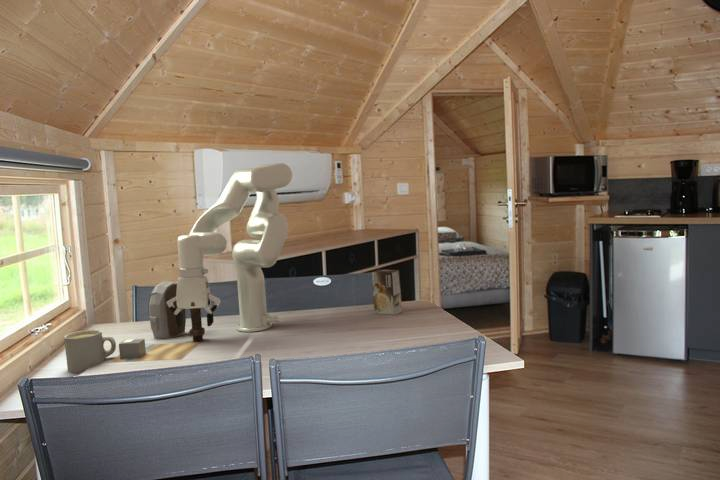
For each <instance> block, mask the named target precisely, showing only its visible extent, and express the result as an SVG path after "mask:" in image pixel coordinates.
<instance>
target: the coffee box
mask: <svg viewBox="0 0 720 480" xmlns="http://www.w3.org/2000/svg"><path fill="white" fill-rule="evenodd" d="M400 273H401V272H400V269H381V268H379V269H376V270H373V271H372V272H371V277H372V279H371V280H372V292H373V293H372V295H373V308H374V309H373V310H374V314H376V315H391V316H396V315H398V314H401V313H403V307H402V305H403V304H402V303H403V302H402V289H401V274H400Z"/></svg>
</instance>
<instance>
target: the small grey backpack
mask: <svg viewBox="0 0 720 480" xmlns="http://www.w3.org/2000/svg"><path fill="white" fill-rule="evenodd" d="M176 293H177V283H176V282H173V281H169V280H164V281H162V282H159V283H158V284H157V285H155V286H154V288H153V289H152V291H151V294H150V296H149V299H148V305H147V306H148V317H149V322H150V323H149V324H150V329H151V332H152V335H153V339H158V340H159V339H160V340H161V339H164V340H165V339H169V338H170V339H171V338H178V337H179V336H181V335H183V334H185V332H186V322H187V321H186V320H187V309H183V310H182V311H181V313H182V316H183V325H182V326H181V327H178V324H176V315H175V314H174V313H173V312H172V311H171V310H170V308H169V306H168V305H167V303H166V302H167V301H168V300H170V299H172V298H174V297H175V296H176ZM173 305H174V306H175V307H176V308H178V307H177V301H174V302H173Z"/></svg>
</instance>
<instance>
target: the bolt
mask: <svg viewBox="0 0 720 480" xmlns="http://www.w3.org/2000/svg"><path fill="white" fill-rule="evenodd" d="M191 306H195V303H194V302H191ZM201 309H202V308H200V309H189V310H190V322H191V328H190V330H189V335H190V336H191V337H192V343H194V342H203V340H204V335H205V333H206V329H205V328H204V327H203V326H202V325H203V324H202V312H201Z"/></svg>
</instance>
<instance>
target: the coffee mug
mask: <svg viewBox="0 0 720 480" xmlns="http://www.w3.org/2000/svg"><path fill="white" fill-rule="evenodd" d="M102 333H103V331H102V330H99V329H86V330H85V329H84V330H79V331H75V332H71V333H67V334H66V335H64V338H63V339H64V347H65V355H66V356H65V358H66V366H67V372H70V373H73V374H74V373H78V374H80V373H85V372H87V370H90V369H91V368H92V367H94V366H96V365H99V364H100V363H102V362H104V360H105V359H106V358H108V357H110V356H111V355H113V354H114V352H116V347H117V343H116V339H115V338H114V337H113V336H111V335H103V334H102ZM106 341H108V342H110V349H108V350H107V349H105V347H104V345H105V342H106Z"/></svg>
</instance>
